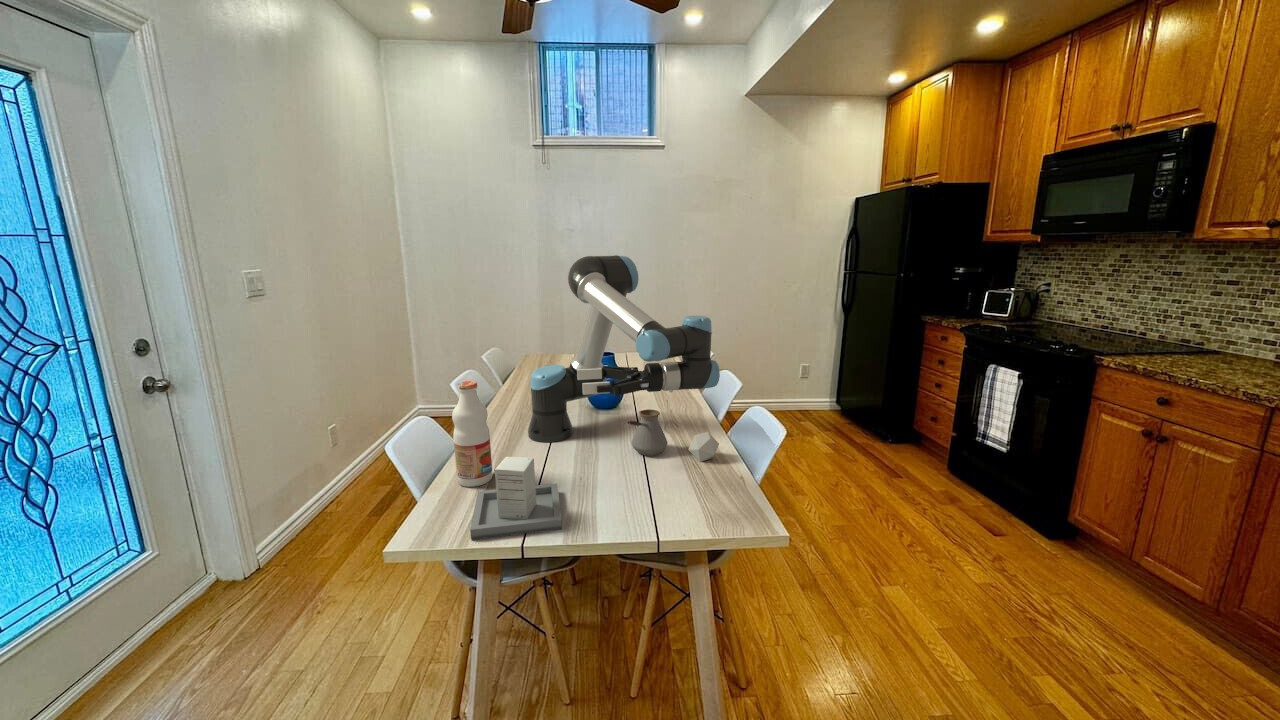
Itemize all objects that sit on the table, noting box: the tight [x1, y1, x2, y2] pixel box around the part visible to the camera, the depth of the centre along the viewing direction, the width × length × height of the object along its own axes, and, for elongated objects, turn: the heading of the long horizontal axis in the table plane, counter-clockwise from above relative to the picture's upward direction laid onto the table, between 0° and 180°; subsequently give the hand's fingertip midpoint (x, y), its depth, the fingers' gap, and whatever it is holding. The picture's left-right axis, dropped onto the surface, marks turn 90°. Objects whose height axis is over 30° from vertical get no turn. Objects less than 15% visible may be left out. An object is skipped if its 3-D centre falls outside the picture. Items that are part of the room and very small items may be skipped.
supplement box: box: [494, 456, 537, 519], centre depth 119 cm, size 7×7×13 cm
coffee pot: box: [623, 408, 668, 457], centre depth 152 cm, size 21×12×15 cm, turn 154°
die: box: [688, 431, 720, 463], centre depth 152 cm, size 8×9×10 cm
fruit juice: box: [451, 380, 493, 488], centre depth 135 cm, size 9×9×28 cm
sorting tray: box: [469, 483, 563, 541], centre depth 121 cm, size 18×20×2 cm
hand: (579, 381), depth 126 cm, fingers open, 13 cm apart
